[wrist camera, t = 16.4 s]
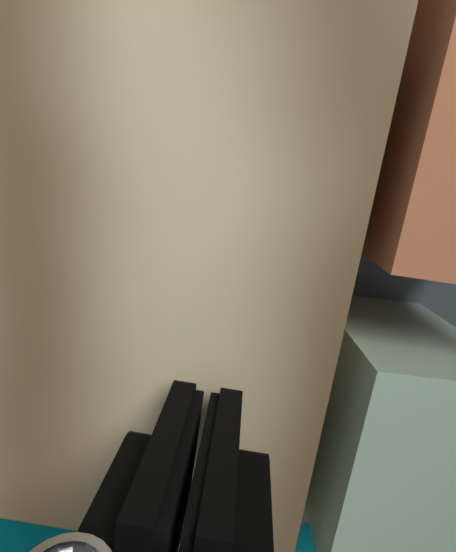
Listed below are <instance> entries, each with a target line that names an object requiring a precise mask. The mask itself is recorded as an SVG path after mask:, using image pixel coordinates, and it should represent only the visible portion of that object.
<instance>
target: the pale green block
mask: <svg viewBox="0 0 456 552" xmlns="http://www.w3.org/2000/svg"><path fill="white" fill-rule="evenodd" d="M305 508H306V512H307V516H308V520H309V525H310V529H311V533H312V537H313V541H314V545H315V549H316V552H456V327H455V326H453V325H452V324H450V323H449V322H447V321H446V320H444V319H443V318H441V317H440V316H438V315H437V314H435V313H434V312H432V311H431V310H429V309H428V308H426V307H425V306H423V305H422V304H419V303H411V302H403V301H395V300H387V299H379V298H371V297H364V296H356V295H352V299H351V303H350V308H349V312H348V316H347V321H346V325H345V330H344V334H343V339H342V343H341V348H340V352H339V357H338V361H337V365H336V370H335V374H334V379H333V383H332V388H331V392H330V397H329V401H328V406H327V410H326V415H325V419H324V423H323V428H322V432H321V437H320V441H319V446H318V450H317V455H316V459H315V464H314V468H313V472H312V477H311V481H310V486H309V490H308V495H307V499H306V504H305Z"/></svg>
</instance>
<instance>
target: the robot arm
mask: <svg viewBox="0 0 456 552" xmlns="http://www.w3.org/2000/svg"><path fill="white" fill-rule="evenodd" d="M203 396H204V391H201V390H196V383H190V382H184V381H178V380H174V381H173V383H172V386H171V388H170V391H169V393H168V396H167V398H166V401H165V403H164V405H163V408H162V410H161V413H160V415H159V418H158V420H157V423H156V425H155V428H154V430H153V433H152V435H151V434H145V433H139V432H133V431H129V432H128V433H127V434H126V436H125V438H124V440H123V442H122V444H121V446H120V448H119V450H118V452H117V454H116V455H115V457H114V459H113V461H112V463H111V465H110V467H109V469H108V471H107V473H106V475H105V477H104V479H103V481H102V483H101V485H100V487H99V489H98V491H97V493H96V495H95V497H94V499H93V501H92V503H91V505H90V507H89V509H88V511H87V513H86V515H85V517H84V519H83V521H82V523H81V525H80V527H79V529H78V531H77V532H72V533H63V534H60V535H57V536H55V537H52V538H49V539H47V540H45V541H44V542H42V543H41V544H39V545H37V546H36V547H34V548H33V549H32V550H31V551H30V552H178V549H179V552H274V541H273V520H272V498H271V477H270V459H269V454H265V453H259V452H253V451H247V450H241V449H239V444H240V428H241V412H242V396H243V391H240V390H234V389H227V388H221V389H220V393H213V392H211V394H210V399H209V404H208V408H207V413H206V418H205V423H204V427H203V432H202V437H201V441H200V446H199V451H198V456H197V460H196V465H195V470H194V463H195V455H196V448H197V441H198V433H199V426H200V419H201V411H202V404H203ZM193 470H194V475H193ZM192 477H193V479H192ZM179 544H180V546H179Z"/></svg>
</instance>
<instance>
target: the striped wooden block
mask: <svg viewBox="0 0 456 552" xmlns="http://www.w3.org/2000/svg"><path fill="white" fill-rule="evenodd" d="M417 5H418V0H0V518H4V519H9V520H15V521H21V522H27V523H33V524H39V525H45V526H50V527H56V528H62V529H68V530H74V531H78V529H79V527H80V525H81V523H82V521H83V519H84V517H85V515H86V513H87V511H88V509H89V507H90V505H91V503H92V501H93V499H94V497H95V495H96V493H97V491H98V489H99V487H100V485H101V483H102V481H103V479H104V477H105V475H106V473H107V471H108V469H109V467H110V465H111V463H112V461H113V459H114V457H115V455H116V454H117V452H118V450H119V448H120V446H121V444H122V442H123V440H124V438H125V436H126V434H127V433H128V432H129V431H133V432H139V433H145V434H151V435H152V433H153V430H154V428H155V425H156V423H157V420H158V418H159V415H160V413H161V410H162V408H163V405H164V403H165V401H166V398H167V396H168V393H169V391H170V388H171V386H172V383H173V381H174V380H178V381H184V382H190V383H196V390H201V391H204V396H203V404H202V411H201V419H200V426H199V433H198V441H197V448H196V455H195V463H194V470H195V465H196V460H197V456H198V451H199V446H200V441H201V437H202V432H203V427H204V423H205V418H206V413H207V408H208V404H209V399H210V394H211V392H213V393H220V389H221V388H227V389H234V390H240V391H243V396H242V412H241V428H240V444H239V449H241V450H247V451H253V452H259V453H265V454H269V459H270V477H271V498H272V520H273V541H274V552H295V548H296V544H297V539H298V535H299V530H300V526H301V521H302V517H303V513H304V508H305V504H306V499H307V495H308V490H309V486H310V481H311V477H312V472H313V468H314V464H315V459H316V455H317V450H318V446H319V441H320V437H321V432H322V428H323V423H324V419H325V415H326V410H327V406H328V401H329V397H330V392H331V388H332V383H333V379H334V374H335V370H336V365H337V361H338V357H339V352H340V348H341V343H342V339H343V334H344V330H345V325H346V321H347V316H348V312H349V308H350V303H351V299H352V294H353V290H354V285H355V281H356V276H357V272H358V267H359V263H360V259H361V254H362V250H363V245H364V241H365V236H366V232H367V227H368V223H369V218H370V214H371V210H372V205H373V201H374V196H375V192H376V187H377V183H378V178H379V174H380V169H381V165H382V161H383V156H384V152H385V147H386V143H387V138H388V134H389V129H390V125H391V120H392V116H393V111H394V107H395V103H396V98H397V94H398V89H399V85H400V80H401V76H402V71H403V67H404V62H405V58H406V54H407V49H408V45H409V40H410V36H411V31H412V27H413V22H414V18H415V13H416V9H417ZM194 470H193V475H194ZM192 479H193V477H192ZM179 546H180V544H179Z"/></svg>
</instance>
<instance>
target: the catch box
mask: <svg viewBox="0 0 456 552" xmlns="http://www.w3.org/2000/svg"><path fill="white" fill-rule="evenodd" d="M352 295H356V296H364V297H371V298H379V299H387V300H395V301H403V302H411V303H419V304H422V305H423V306H425V307H426V308H428V309H429V310H431V311H432V312H434V313H435V314H437V315H438V316H440V317H441V318H443V319H444V320H446V321H447V322H449V323H450V324H452V325H453V326H455V327H456V284H451V283H444V282H437V281H430V280H423V279H417V278H410V277H403V276H396V275H390V274H389V273H388V272H386V271H385V270H383V269H382V268H381V267H379V266H378V265H377V264H375V263H374V262H372V261H371V260H370V259H368V258H367V257H365V256H364V255H363V254H361V259H360V263H359V267H358V272H357V276H356V281H355V285H354V290H353V294H352ZM301 523H303V524H309V520H308V516H307V512H306V508H304V513H303V517H302V521H301Z"/></svg>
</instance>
